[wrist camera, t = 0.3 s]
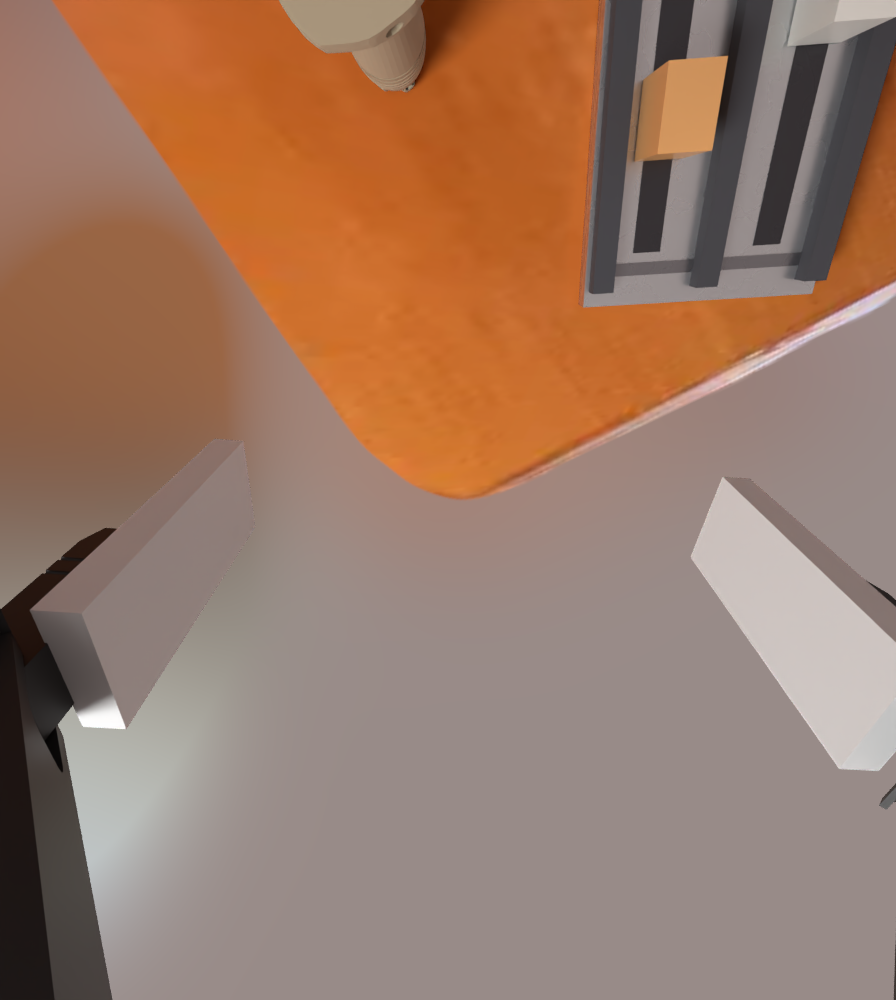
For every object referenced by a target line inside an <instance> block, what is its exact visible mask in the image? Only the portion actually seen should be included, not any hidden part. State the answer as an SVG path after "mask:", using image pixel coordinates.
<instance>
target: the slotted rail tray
mask: <svg viewBox="0 0 896 1000" xmlns="http://www.w3.org/2000/svg"><path fill="white" fill-rule="evenodd" d="M642 2H643V0H611V7H610V20H609V33H608V46H607V59H606V72H605V85H604V98H603V111H602V124H601V137H600V150H599V164H598V177H597V190H596V203H595V216H594V229H593V242H592V255H591V268H590V281H589V293H591V294H606V293H614V283H615V273H616V263H617V253H618V243H619V233H620V223H621V213H622V202H623V192H624V182H625V172H626V162H627V152H628V142H629V132H630V122H631V112H632V102H633V92H634V82H635V72H636V62H637V52H638V42H639V32H640V22H641V12H642ZM772 5H773V0H737V6H736V12H735V18H734V24H733V30H732V36H731V41H730V47H729V53H728V60H727V66H726V72H725V77H724V83H723V89H722V95H721V101H720V107H719V113H718V119H717V125H716V131H715V137H714V143H713V148H712V154H711V160H710V166H709V172H708V178H707V184H706V190H705V195H704V201H703V207H702V213H701V219H700V225H699V231H698V237H697V243H696V249H695V255H694V263H693V269H692V272H691V278H690V284H689V286H691V287H695V288H705V287H718V282H719V276H720V271H721V266H722V261H723V256H724V251H725V246H726V241H727V235H728V230H729V225H730V220H731V215H732V210H733V205H734V200H735V194H736V189H737V184H738V179H739V174H740V169H741V164H742V159H743V153H744V148H745V143H746V138H747V133H748V128H749V123H750V118H751V112H752V107H753V102H754V97H755V92H756V87H757V82H758V77H759V71H760V66H761V61H762V56H763V51H764V46H765V41H766V36H767V30H768V25H769V20H770V15H771V10H772ZM895 44H896V17H895V18H892V19H890V20H888V21H886V22H884V23H882V24H879V25H877V26H875V27H873V28H871V29H869V30H866V31H864V32H862V33H860V34H859V36H858V40H857V43H856V47H855V51H854V55H853V59H852V62H851V66H850V70H849V74H848V78H847V81H846V85H845V89H844V93H843V97H842V100H841V104H840V108H839V112H838V115H837V119H836V123H835V127H834V131H833V134H832V138H831V142H830V146H829V150H828V153H827V157H826V161H825V165H824V168H823V172H822V176H821V180H820V184H819V187H818V191H817V195H816V199H815V203H814V206H813V210H812V214H811V218H810V222H809V225H808V229H807V233H806V237H805V240H804V244H803V248H802V254H801V258H800V262H799V265H798V267H797V271H796V275H795V278H794V280H800V281H820V280H826V279H827V275H828V272H829V269H830V265H831V262H832V258H833V255H834V252H835V248H836V245H837V241H838V238H839V235H840V231H841V228H842V224H843V221H844V218H845V214H846V211H847V207H848V204H849V201H850V197H851V194H852V190H853V187H854V183H855V180H856V177H857V173H858V170H859V166H860V163H861V160H862V156H863V153H864V149H865V146H866V143H867V139H868V136H869V132H870V129H871V126H872V122H873V119H874V115H875V112H876V109H877V105H878V102H879V98H880V95H881V91H882V88H883V85H884V81H885V78H886V74H887V71H888V68H889V64H890V61H891V57H892V54H893V51H894V47H895Z"/></svg>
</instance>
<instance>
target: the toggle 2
mask: <svg viewBox="0 0 896 1000" xmlns="http://www.w3.org/2000/svg"><path fill="white" fill-rule="evenodd" d="M895 17H896V0H797V2H796V6H795V11H794V16H793V21H792V25H791V30H790V35H789V39H788V44H787V46H799V45H812V44H825V43H838V42H842V41H845V40H847V39H849V38H851V37H853V36H855V35H858V34H860V33H862V32H864V31H866V30H869V29H871V28H873V27H875V26H877V25H879V24H882V23H884V22H886V21H888V20H890V19H892V18H895Z"/></svg>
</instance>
